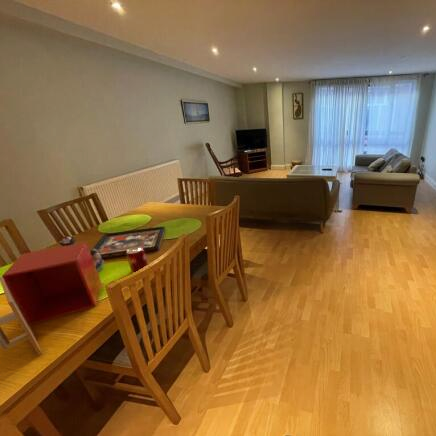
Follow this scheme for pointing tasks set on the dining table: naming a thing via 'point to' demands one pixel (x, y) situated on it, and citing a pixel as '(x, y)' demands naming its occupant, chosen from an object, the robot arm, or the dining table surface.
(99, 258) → the bison figurine
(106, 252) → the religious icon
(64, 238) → the sundae
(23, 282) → the cabinet
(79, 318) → the dining table surface
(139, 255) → the soda can
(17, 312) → the hinged door with handle
